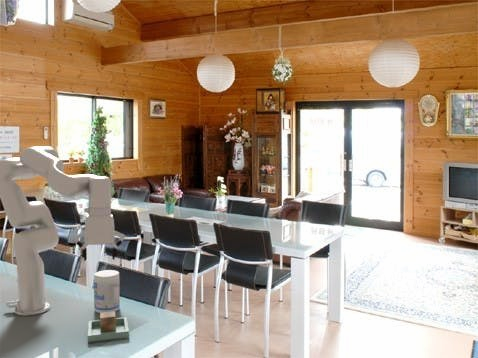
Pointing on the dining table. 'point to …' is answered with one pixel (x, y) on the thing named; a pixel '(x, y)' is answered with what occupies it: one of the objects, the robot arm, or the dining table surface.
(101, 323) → the walnut block
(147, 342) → the dining table surface
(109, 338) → the rest tray
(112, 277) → the supplement tub
